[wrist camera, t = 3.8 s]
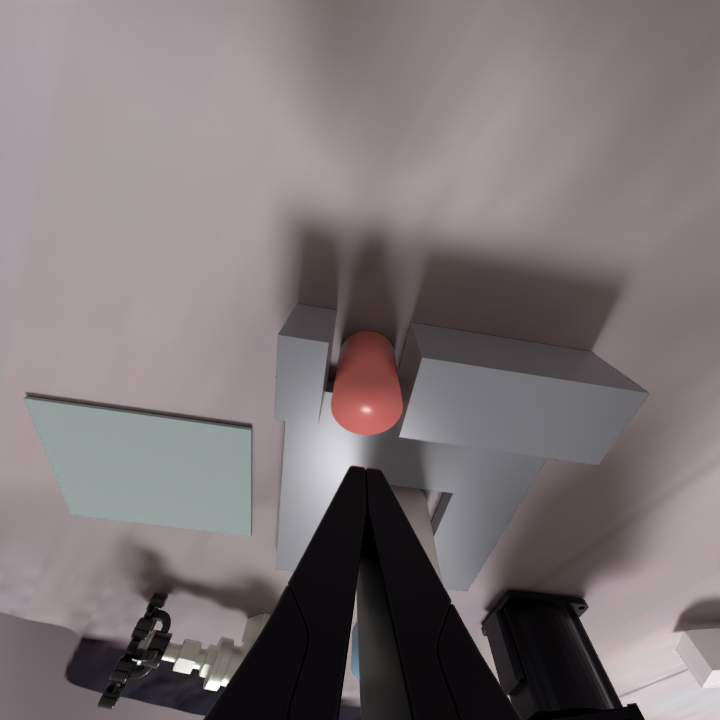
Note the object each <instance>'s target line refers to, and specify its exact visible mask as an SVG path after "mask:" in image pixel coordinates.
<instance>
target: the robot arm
mask: <svg viewBox="0 0 720 720" xmlns="http://www.w3.org/2000/svg"><path fill="white" fill-rule="evenodd" d="M356 594H357V621H358V649H359V676H360V704H361V720H645V719H644V717H643V715H642V714H641V712H640V710H639V708H638V706H637V704H636V703H633V704H627V707H623V706H622V704H621V702H620V700H619V698H618V696H617V694H616V692H615V690H614V688H613V686H612V684H611V682H610V679H609V677H608V675H607V673H606V671H605V669H604V667H603V665H602V663H601V661H600V659H599V657H598V655H597V653H596V651H595V649H594V647H593V645H592V643H591V641H590V639H589V637H588V635H587V633H586V631H585V629H584V627H583V625H582V623H581V621H580V619H579V617H580V616H581V615H582V614H583V613H584V612H585V611H586V610H587V609H588V605H587V603H586V601H585V600H584V599H578V598H569V597H560V596H552V595H543V594H534V593H526V592H517V591H510V592H507V593H506V594H505V595H504V597H503V598H502V600H501V601H500V602H499V604H498V605H497V607H496V608H495V609H494V611H493V612H492V614H491V615H490V616H489V618H488V619H487V621H486V622H485V623H484V625H483V626H482V628H481V629H482V633H483V635H484V636H487V637H488V640H489V644H490V648H491V652H492V655H493V659H494V663H495V666H496V670H497V674H498V678H499V681H500V684H499V682H498V681H497V679H496V678H495V676H494V674H493V673H492V671H491V669H490V668H489V666H488V665H487V663H486V661H485V660H484V658H483V657H482V655H481V653H480V651H479V650H478V648H477V646H476V644H475V643H474V641H473V639H472V637H471V636H470V634H469V632H468V630H467V628H466V627H465V625H464V623H463V621H462V619H461V617H460V615H459V614H458V612H457V610H456V608H455V606H454V605H453V604H451V599H450V597H449V595H448V593H447V591H446V589H445V588H444V586H443V584H442V582H441V580H440V578H439V576H438V575H437V573H436V571H435V569H434V567H433V565H432V563H431V561H430V560H429V558H428V556H427V554H426V552H425V550H424V548H423V546H422V545H421V543H420V541H419V539H418V537H417V535H416V533H415V532H414V530H413V528H412V526H411V524H410V522H409V520H408V518H407V517H406V515H405V513H404V511H403V509H402V507H401V505H400V503H399V502H398V500H397V498H396V496H395V494H394V492H393V490H392V489H391V487H390V485H389V483H388V481H387V479H386V477H385V475H384V474H383V472H382V470H380V469H375V468H366V469H365V468H364V467H360V466H350V467H349V469H348V470H347V472H346V474H345V476H344V478H343V480H342V482H341V484H340V486H339V488H338V489H337V491H336V493H335V495H334V497H333V499H332V501H331V503H330V505H329V506H328V508H327V510H326V512H325V514H324V516H323V518H322V520H321V522H320V524H319V525H318V527H317V529H316V531H315V533H314V535H313V537H312V539H311V541H310V542H309V544H308V546H307V548H306V550H305V552H304V554H303V556H302V558H301V559H300V561H299V563H298V565H297V567H296V569H295V571H294V573H293V575H292V577H291V578H290V580H289V582H288V586H286V587H285V589H284V591H283V593H282V595H281V597H280V599H279V601H278V602H277V604H276V606H275V608H274V610H273V611H272V613H271V615H270V617H269V619H268V620H267V622H266V624H265V626H264V627H263V629H262V631H261V633H260V634H259V636H258V637H257V639H256V641H255V642H254V644H253V645H252V647H251V648H250V650H249V652H248V653H247V655H246V656H245V658H244V659H243V661H242V663H241V664H240V666H239V667H238V669H237V670H236V672H235V673H234V675H233V676H232V678H231V679H230V681H229V682H228V684H227V685H226V687H225V688H224V690H223V691H222V693H221V694H220V696H219V697H218V699H217V700H216V701H215V703H214V704H213V706H212V707H211V709H210V710H209V712H208V713H207V715H206V716H205V718H204V719H203V720H338V718H339V711H340V704H341V696H342V689H343V682H344V675H345V667H346V660H347V653H348V646H349V638H350V631H351V624H352V617H353V609H354V602H355V595H356ZM500 685H501V686H500ZM507 695H509V696H510V700H511V701H510V700H509V698H508V697H507Z"/></svg>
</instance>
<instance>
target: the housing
mask: <svg viewBox="0 0 720 720" xmlns="http://www.w3.org/2000/svg"><path fill="white" fill-rule="evenodd" d="M336 315H337V310H333V309H326V308H320V307H314V306H308V305H302V304H297V305H296V307H295V309H294V310H293V312H292V313H291V315H290V317H289V318H288V320H287V321H286V323H285V324H284V326H283V328H282V329H281V331H280V332H279V334H278V345H277V368H276V390H275V412H274V419H275V420H282V421H285V436H284V451H283V466H282V481H281V496H280V511H279V526H278V541H277V556H276V570H285V571H293V572H294V571H295V569H296V567H297V565H298V563H299V561H300V559H301V558H302V556H303V554H304V552H305V550H306V548H307V546H308V544H309V542H310V541H311V539H312V537H313V535H314V533H315V531H316V529H317V527H318V525H319V524H320V522H321V520H322V518H323V516H324V514H325V512H326V510H327V508H328V506H329V505H330V503H331V501H332V499H333V497H334V495H335V493H336V491H337V489H338V488H339V486H340V484H341V482H342V480H343V478H344V476H345V474H346V472H347V470H348V469H349V467H350V466H360V467H364V468H365V469H366V468H375V469H380V470H382V472H383V474H384V475H385V477H386V479H387V481H388V483H389V485H395V486H402V487H410V488H417V489H425V490H432V491H440V492H444V493H443V496H442V498H441V500H440V503H439V505H438V507H437V510H436V512H435V514H434V517H433V519H432V522H431V526H432V531H433V536H434V542H435V547H436V552H437V557H438V562H439V568H440V573H441V578H442V583H443V586H444V588H445V589H450V590H459V591H468V589H469V588H470V586H471V584H472V583H473V581H474V579H475V578H476V576H477V574H478V573H479V571H480V569H481V568H482V566H483V564H484V563H485V561H486V559H487V558H488V556H489V554H490V553H491V551H492V549H493V548H494V546H495V545H496V543H497V541H498V540H499V538H500V536H501V535H502V533H503V531H504V530H505V528H506V526H507V525H508V523H509V521H510V520H511V518H512V516H513V515H514V513H515V511H516V510H517V508H518V506H519V505H520V503H521V502H522V500H523V498H524V497H525V495H526V493H527V492H528V490H529V488H530V487H531V485H532V483H533V482H534V480H535V478H536V477H537V475H538V473H539V472H540V470H541V468H542V467H543V465H544V463H545V462H546V460H547V459H548V458H550V459H557V460H564V461H571V462H578V463H585V464H592V465H599V464H600V462H601V461H602V460H603V458H604V457H605V455H606V454H607V453H608V451H609V450H610V448H611V447H612V446H613V444H614V443H615V441H616V440H617V439H618V437H619V436H620V434H621V433H622V432H623V430H624V429H625V427H626V426H627V425H628V423H629V422H630V421H631V419H632V418H633V416H634V415H635V414H636V412H637V411H638V409H639V408H640V407H641V405H642V404H643V402H644V401H645V400H646V398H647V397H648V395H649V394H650V393H649V392H647V391H646V390H645V389H643V388H642V387H640V386H639V385H638V384H636V383H635V382H633V381H632V380H631V379H629V378H628V377H626V376H625V375H624V374H622V373H621V372H619V371H618V370H617V369H615V368H614V367H612V366H611V365H610V364H608V363H607V362H605V361H604V360H603V359H601V358H600V357H598V356H597V355H596V354H594V353H593V352H590V351H584V350H577V349H571V348H565V347H559V346H553V345H547V344H541V343H535V342H528V341H522V340H516V339H510V338H504V337H498V336H492V335H486V334H480V333H473V332H467V331H461V330H455V329H449V328H443V327H437V326H431V325H424V324H418V323H412V322H411V323H410V327H409V331H408V335H407V338H406V342H405V346H404V350H403V354H402V358H401V362H400V366H399V370H398V378H399V384H400V390H401V396H402V403H403V409H402V414H401V416H400V418H399V420H398V421H397V422H396V424H395V425H394V426H392V427H391V428H390V429H388V430H386V431H384V432H382V433H379V434H374V435H360V434H355V433H352V432H350V431H348V430H346V429H344V428H343V427H342V426H340V425H339V424H338V423H337V421H336V420H335V418H334V417H333V414H332V411H331V400H332V394H333V388H334V382H333V381H328V374H329V367H330V359H331V352H332V345H333V337H334V330H335V323H336Z"/></svg>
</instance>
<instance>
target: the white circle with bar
mask: <svg viewBox="0 0 720 720" xmlns="http://www.w3.org/2000/svg"><path fill="white" fill-rule="evenodd" d="M676 651H677V652H678V654H679V655H680V657H681V658H682V660H683V661H684V663H685V664H686V666H687V667H688V669H689V670H690V672H691V673H692V675H693V676H694V678H695V679H696V681H697V682H698V684H699V685H700V687H701V688H711V687H720V628H717V629H704V630H692V631H684V633H683V635H682V637H681V639H680V641H679V643H678V645H677V648H676Z"/></svg>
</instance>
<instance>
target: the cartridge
mask: <svg viewBox="0 0 720 720" xmlns="http://www.w3.org/2000/svg"><path fill="white" fill-rule="evenodd" d="M390 487H391V489H392V490H393V492H394V494H395V496H396V498H397V500H398V502H399V503H400V505H401V507H402V509H403V511H404V513H405V515H406V517H407V518H408V520H409V522H410V524H411V526H412V528H413V530H414V532H415V533H416V535H417V537H418V539H419V541H420V543H421V545H422V546H423V548H424V550H425V552H426V554H427V556H428V558H429V560H430V561H431V563H432V565H433V567H434V569H435V571H436V573H437V575H438V576H439V578H440V580H441V582H442V578H441V573H440V568H439V562H438V557H437V552H436V547H435V542H434V536H433V531H432V526H431V521H430V515H429V510H428V505H427V500H426V496H425V495H424V493H423V492H422V491H421V490H420V489H417V488H410V487H402V486H395V485H390ZM442 584H443V583H442ZM351 670H352V673H353V674H354V676H355V677H356V678H358V679H359V680H360V676H359V649H358V621H357V594H356V598H355V626H354V628H353V631H352V655H351Z"/></svg>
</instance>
